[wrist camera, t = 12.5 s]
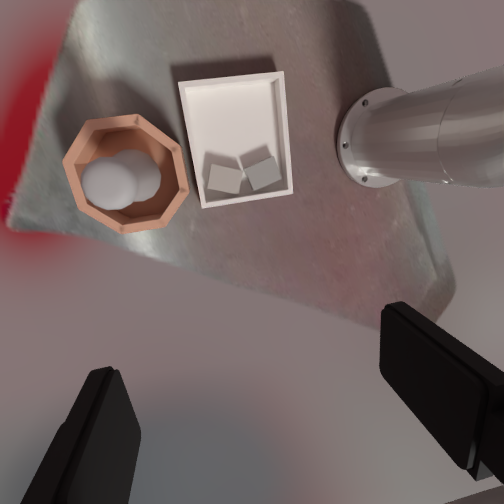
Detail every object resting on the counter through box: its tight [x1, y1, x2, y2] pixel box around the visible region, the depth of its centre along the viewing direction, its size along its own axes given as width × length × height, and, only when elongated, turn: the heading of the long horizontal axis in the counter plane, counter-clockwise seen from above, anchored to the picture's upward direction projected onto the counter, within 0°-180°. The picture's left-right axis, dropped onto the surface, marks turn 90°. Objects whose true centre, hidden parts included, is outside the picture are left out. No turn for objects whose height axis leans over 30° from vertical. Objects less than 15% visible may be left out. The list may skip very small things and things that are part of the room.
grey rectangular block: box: [243, 156, 282, 191], centre depth 37 cm, size 4×3×2 cm
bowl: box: [62, 114, 190, 234], centre depth 33 cm, size 12×12×5 cm
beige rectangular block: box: [207, 164, 243, 195], centre depth 36 cm, size 4×3×2 cm
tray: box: [178, 71, 293, 208], centre depth 35 cm, size 12×14×2 cm
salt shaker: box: [81, 149, 161, 210], centre depth 28 cm, size 6×6×13 cm
